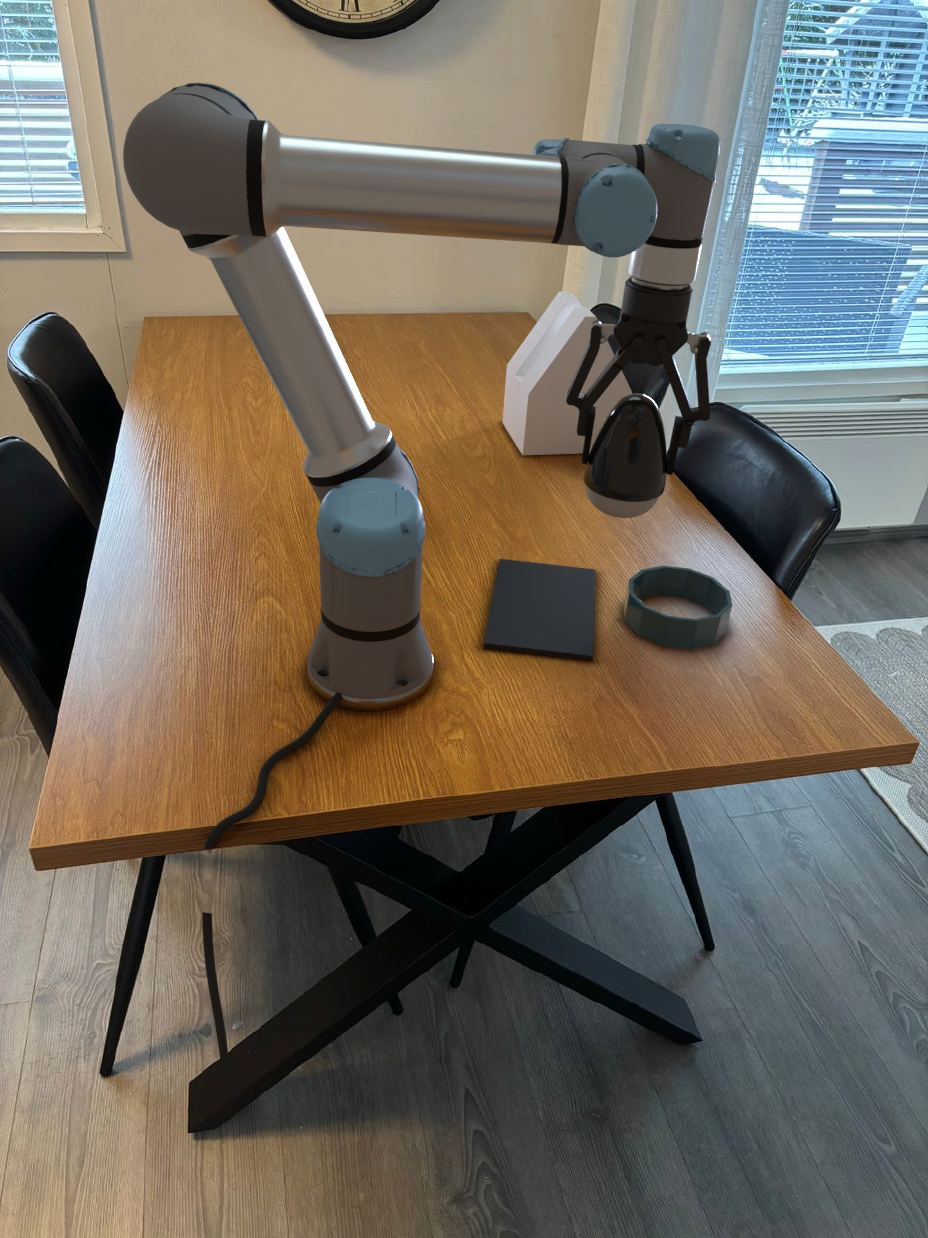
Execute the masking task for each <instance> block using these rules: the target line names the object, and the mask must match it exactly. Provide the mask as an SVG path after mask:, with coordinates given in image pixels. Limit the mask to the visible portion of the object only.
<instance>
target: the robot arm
mask: <svg viewBox="0 0 928 1238" xmlns="http://www.w3.org/2000/svg"><path fill="white" fill-rule="evenodd" d="M720 147H721V139H720V136H719V135H718V133H717V132H716V131H715V130H713V129H711V128H708V127H703V126H697V125H692V124H682V123H657V124H654V125H653V126H652V127H651V128H650V130H649V134H648V138H647V139H646V140H645V143H638V144H625V143H624V144H622V143H611V142H602V141H591V140H578V139H577V140H576V139H571V138H570V137H569V138H568V137H564V138H563V139H561V138H559V139H557V138H556V139H555V138H554V139H553V138H551V139H550V138H549V139H548V138H545V139H540V140H539V141H538V142H536V143H535V145H534V147H533V149H532V152H531V154H528V153H517V152H502V151H490V150H479V149H465V148H454V147H453V148H452V147H442V146H441V147H439V146H427V145H416V144H401V143H389V142H379V141H366V140H365V141H364V140H354V139H353V140H352V139H341V138H340V139H339V138H326V137H313V136H303V135H302V136H301V135H290V134H289V135H288V134H283V133H282V132H281V131H279V130H278V128H277V127H276V126H275V125H274V124H273V123H272V121H271V120H262V119H259V118H258V116H257V115H256V113H255V112H254V111H253V110H252V108H251V106H250V105H248V103H247V102H245V101H244V100H243V99H242V98H241V97H239V96H238V95H237V94H235V93H234V92H233V91H231V90H229V89H227V88H224V87H222V86H219V85H215V84H213V83H208V82H207V83H206V82H205V83H203V82H188V83H186V84H182V85H180V86H174V87H173V88H171V89H170V90H169V91H167V92H164V93H162V94H161V96H160V97H158V98H156V99H154V100H153V101H151V102H149V103H147V105H145V106H144V107H142V109H140V111H138V112H137V114H136V115H135V116H134V117H133V118H132V121H131V122H130V124H129V126H128V128H127V131H125V137H124V140H123V145H122V163H123V170H124V174H125V177H126V181H127V184H128V186H129V189H130V190H131V193H132V194H133V195H134V197H135V199H136V200H137V202H138V203H139V204H140V206H141V207H142V208H143V210H145V211H146V213H148V214H149V215H150V216H151V217H152V218H154V219H155V220H156V221H158V222H160V223H161V224H163V225H165V226H167V227H168V228H171V229H174V230H175V231H178V232H179V234H180V236H181V237H182V239H183V241H184V243H185V245H186V247H187V249H188V250H189V251H190V252H191V253H194V254H197V255H199V256H202V257H204V258H206V259H208V260H209V261H210V263H211V265H212V266H213V268H214V270H215V273H216V274H217V276H218V278H219V280H220V282H221V283H222V286H223V288H224V289H225V291H226V294H227V295H228V298H229V299H230V301H231V303H232V306H233V308H234V310H235V311H236V313H237V314H238V317H239V320H240V321H241V323H242V325H243V327H244V329H245V331H246V333H247V335H248V337H249V338H250V341H251V343H252V345H253V347H254V348H255V350H256V352H257V354H258V356H259V358H260V360H261V363H262V364H263V366H264V368H265V370H266V372H267V374H268V376H269V378H270V380H271V382H272V384H273V386H274V388H275V390H276V392H277V393H278V395H279V398H280V399H281V402H282V404H283V406H284V408H285V410H286V411H287V413H288V416H289V417H290V419H291V421H292V423H293V425H294V427H295V430H296V431H297V434H298V435H299V437H300V439H301V441H302V443H303V445H304V447H305V449H306V451H307V452H306V454H305V457H304V460H303V463H302V470H303V473H304V475H305V476H306V479H307V480H308V482H309V485H310V486H311V488H312V490H313V492H314V494H315V496H316V497H317V499H318V502H319V504H320V506H319V510H318V515H317V520H316V537H317V540H318V555H319V557H318V558H319V560H318V561H319V587H320V588H319V589H320V592H319V593H320V616H321V617H320V621H319V624H318V627H317V629H316V632H315V635H314V637H313V641H312V643H311V646H310V649H309V651H308V655H307V659H306V668H307V679H308V683H309V684H310V687H311V688H312V689H313V690H314V692H315V693H316V694H317V695H319V697H321V698H322V699H324V700H326V701H327V703H326V705H325V706H324V707H323V709H322V710H321V711H320V713H319V714H318V715H317V716H316V718H315V720H314V721H313V722H312V724H311V725H310V726H309V727H308V728H307V729H306V730H305V731H304V733H302V735H300V736H299V737H297V738H296V739H295V740H293V741H291V742H290V743H288V744H286V745H285V746H282V747H281V748H280V749H278V750H277V751H275V752H274V753H272V754H271V755H270V756H269V757H268V758H267V760H266V761H264V763H263V765H262V766H261V769H260V771H259V774H258V779H257V786H256V790H255V793H254V796H253V798H252V799H251V801H250V802H249V804H247V805H246V806H245V807H244V808H242V809H240V810H238V811H236V812H234V813H232V814H231V815H228V816H226V817H224V819H221V821H219V822H218V823H217V824H216V826H214V827H213V829H212V831H211V832H210V833H209V834H208V837H207V839H206V841H205V843H204V849H205V850H206V851H210V850H213V849H214V848H215V847H216V846H217V843H218V842H219V839H220V838H221V836H222V835H223V834H224V833H225V831H227V830H228V829H229V828H230V827H232V826H233V825H236V824H238V823H239V822H242V821H243V820H245V819H247V818H250V817H251V816H252V815H253V814H254V813H255V812H256V811H257V810H258V809H259V808H260V807H261V805H262V803H263V801H264V799H265V796H266V793H267V792H266V791H267V786H268V779H269V776H270V773H271V771H272V770H273V768H274V767H275V766H276V764H277V763H279V761H281V760H282V759H284V758H285V757H287V756H288V755H290V754H291V753H294V752H295V751H297V750H298V749H300V748H301V747H303V746H305V745H306V744H308V742H309V741H310V740H311V739H312V738H313V737H314V736H315V735H316V734H317V733H318V731H319V730H320V729H321V728H322V726H323V725H324V723H325V722H326V720H327V719H328V718H329V717H330V715H331V714H332V713H333V711H334V710H335V709H336V707H337V706H339V707H341V708H345V709H350V710H357V711H367V712H368V711H372V712H373V711H385V710H390V709H394V708H398V707H401V706H404V705H407V704H409V703H411V702H413V701H414V700H416V699H418V698H419V697H420V696H422V695H423V694H424V693H425V692H426V691H427V690H428V688H429V687H430V685H431V683H432V680H433V677H434V656H433V653H432V649H431V647H430V643H429V641H428V638H427V634H426V632H425V629H424V626H423V624H422V620H421V607H422V605H421V603H422V579H423V578H422V577H423V554H424V553H423V551H424V541H425V538H426V521H425V517H424V510H423V507H422V503H421V502H420V500H419V497H420V487H419V478H418V475H417V472H416V468H415V467H414V465H413V463H412V462H411V460H410V458H409V457H408V455H407V454H406V453H405V452H404V451H403V450H402V449H401V448H400V447H399V446H398V443H397V441H396V439H395V437H394V435H393V432H392V430H391V429H390V427H389V426H388V425H387V424H384V423H383V422H379V421H376V420H373V418H372V416H371V414H370V412H369V410H368V408H367V406H366V404H365V401H364V399H363V397H362V395H361V392H360V390H359V387H358V386H357V384H356V382H355V379H354V377H353V375H352V373H351V371H350V370H351V369H349V366H348V364H347V362H346V359H345V358H344V355H343V353H342V351H341V349H340V346H339V345H338V342H337V340H336V337H335V335H334V333H333V331H332V329H331V327H330V324H329V322H328V320H327V318H326V316H325V314H324V311H323V309H322V307H321V305H320V303H319V301H318V298H317V296H316V294H315V292H314V289H313V287H312V285H311V284H310V281H309V279H308V276H307V275H306V273H305V270H304V268H303V265H302V263H301V262H300V259H299V257H298V255H297V252H296V250H295V249H294V246H293V244H292V241H291V240H290V237H289V235H288V233H287V230H286V229H285V227H292V228H293V227H294V228H309V229H311V228H312V229H322V230H323V229H325V230H326V229H327V230H340V231H354V232H355V231H356V232H369V233H370V232H371V233H385V234H403V235H417V236H430V237H432V236H433V237H445V238H446V237H447V238H464V239H478V240H493V241H506V242H507V241H509V242H522V243H540V244H551V245H552V244H553V245H559V246H574V247H584V248H586V249H587V250H588V251H590V252H593V253H595V254H597V255H599V256H601V257H607V258H621V257H622V258H623V257H625V256H628V255H629V258H628V263H627V264H628V265H627V269H626V270H627V271H626V272H627V275H629V278H628V279H626V280H625V282H624V284H625V285H624V289H623V295H622V302H621V307H620V313H619V316H618V319H617V320H616V321H615V323H602V322H601V321H600V320H598V319H597V320H596V321H593V322H592V324H591V336H590V341H589V344H588V346H587V348H586V350H585V353H584V355H583V357H582V360H581V362H580V364H579V366H578V369H577V371H576V373H575V375H574V378H573V380H572V382H571V385H570V387H569V389H568V391H567V397H566V403H567V404H568V405H573V406H575V407H577V408H578V409H579V417H578V424H577V435H578V436H585V439H584V446H583V452H582V453H581V465H586V464H587V465H588V459H589V454H590V453H589V452H590V446H591V439H592V433H593V427H594V420H595V412H596V407H595V406H593V405H594V404H595V403H596V402H597V400H598V399H599V398H600V396H601V395H602V394H603V393H604V391H605V390H606V389H607V388H608V386H609V385H610V384H611V383H612V381H613V380H614V379H615V378H616V376H617V375H618V374H619V373H620V371H621V370H622V371H623V370H624V369H625V368H626V367H627V366H628V364H629V363H630V362H631V364H633V365H642V364H647V365H649V366H652V367H660V366H661V365H663V368H664V371H665V374H666V376H667V379H668V382H669V384H670V387H671V390H672V393H673V395H674V398H675V402H676V404H677V407H678V410H679V412H680V415H681V416H680V415H679V416H678V415H675V416H674V421H673V426H672V431H671V436H670V440H669V444H668V445H669V446H668V451H667V469H666V475H670V476H671V475H672V476H673V474H674V470H675V465H676V461H677V456H678V451H679V448H682V449H686V448H687V446H689V441H690V436H691V433H692V428H693V425H694V424H695V423H697V422H699V421H703V422H707V421H709V420H710V419H711V405H710V389H709V376H708V375H709V374H708V373H709V372H708V355H709V352H710V349H711V346H712V341H711V337H710V334H709V333H708V332H706V331H703V332H701V333H695V332H690V331H688V328H687V321H688V316H689V312H690V307H691V301H692V298H693V297H692V296H693V291H694V290H693V288H692V286H691V284H692V283H694V282H695V281H696V277H697V272H698V268H699V267H698V266H699V262H700V256H701V251H702V246H703V244H702V243H703V239H704V234H705V233H704V232H705V229H706V224H707V219H708V215H709V210H710V206H711V201H712V196H713V193H714V192H713V191H714V188H715V183H717V173H718V165H719V158H720V150H721V149H720ZM611 336H614V337H615V339H616V342H617V343H618V345H619V348H618V350H617V351H616V352H615V353H614V357H613V359H612V360H611V361H610V362H609V364H608V365H607V366H606V368H605V369H604V370H603V371H602V373H601V374H600V375H599V377H598V378H597V379H596V380H595V382H594V383H593V384H592V385H591V387H590V388H589V389H588V391H587V392H586V393H585V394H584V396H583V395H581V394H580V392H581V390H582V388H583V385H584V383H585V381H586V379H587V376H588V374H589V372H590V370H591V367H592V365H593V363H594V361H595V358H596V356H597V354H598V351H599V348H600V344H604V343H606V342H607V341H608V339H609V338H610V337H611ZM686 344H688V345H689V350H690V352H691V353H692V354H693V355H694V369H695V382H696V396H697V406H694V407H692V405H691V402H690V400H689V396H688V394H687V391H686V389H685V386H684V383H683V380H682V376H681V375H680V372H679V371H680V370H679V368H678V365H677V363H676V360H675V357H674V355H675V354H676V353H678V351H679V350H680V349H682V347H683V346H685V345H686ZM201 914H202V915H201V917H202V918H201V919H202V920H201V921H202V925H201V926H202V927H201V928H202V945H203V956H204V957H203V958H204V965H205V973H206V979H207V980H206V981H207V987H208V991H209V1000H210V1004H211V1009H212V1015H213V1020H214V1026H215V1032H216V1039H217V1040H216V1041H217V1046H218V1054H219V1062H220V1063H221V1064H226V1063H228V1062H229V1060H230V1059H229V1047H228V1041H227V1039H228V1038H227V1032H226V1026H225V1020H224V1019H225V1018H224V1014H223V1007H222V1002H221V1001H222V1000H221V996H220V990H219V982H218V977H217V970H216V961H215V950H214V935H213V933H214V931H213V913H212V912H211V913H210V912H205V911H202V912H201Z"/></svg>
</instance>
